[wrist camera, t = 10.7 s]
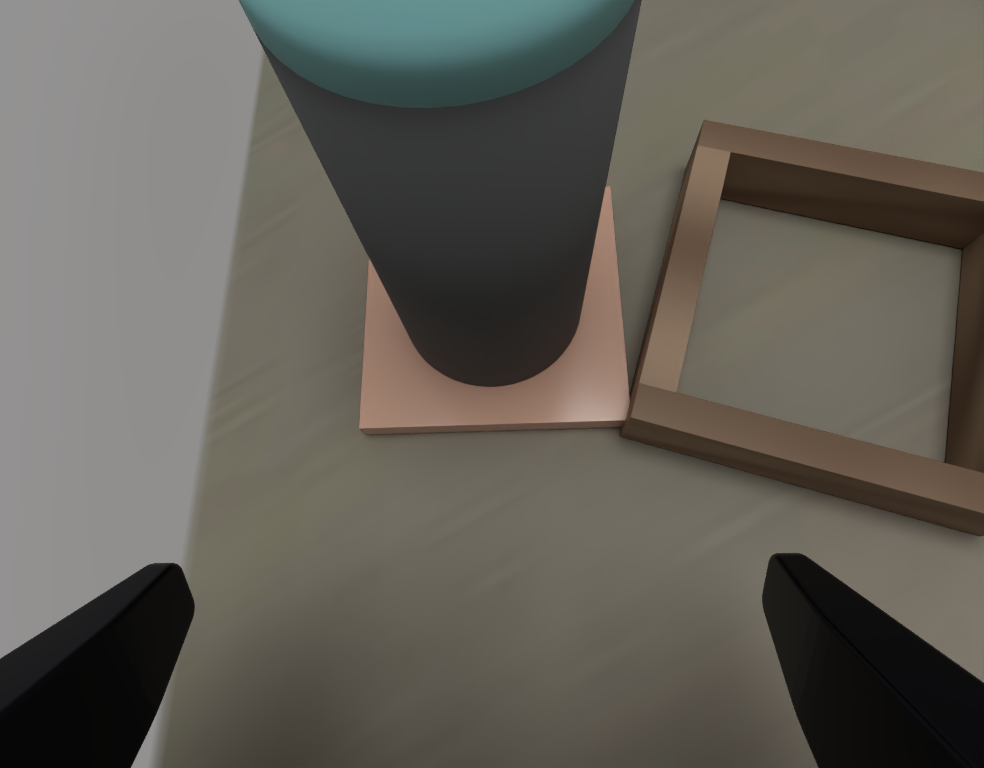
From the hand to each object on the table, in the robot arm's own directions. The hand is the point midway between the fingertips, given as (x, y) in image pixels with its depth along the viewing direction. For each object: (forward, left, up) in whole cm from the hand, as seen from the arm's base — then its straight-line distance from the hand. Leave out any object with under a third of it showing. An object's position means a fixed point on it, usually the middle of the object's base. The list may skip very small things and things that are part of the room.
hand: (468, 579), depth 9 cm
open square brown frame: (+11, +5, -8) cm, 15 cm away
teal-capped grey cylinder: (+1, +8, -7) cm, 11 cm away
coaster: (+1, +8, -8) cm, 12 cm away
